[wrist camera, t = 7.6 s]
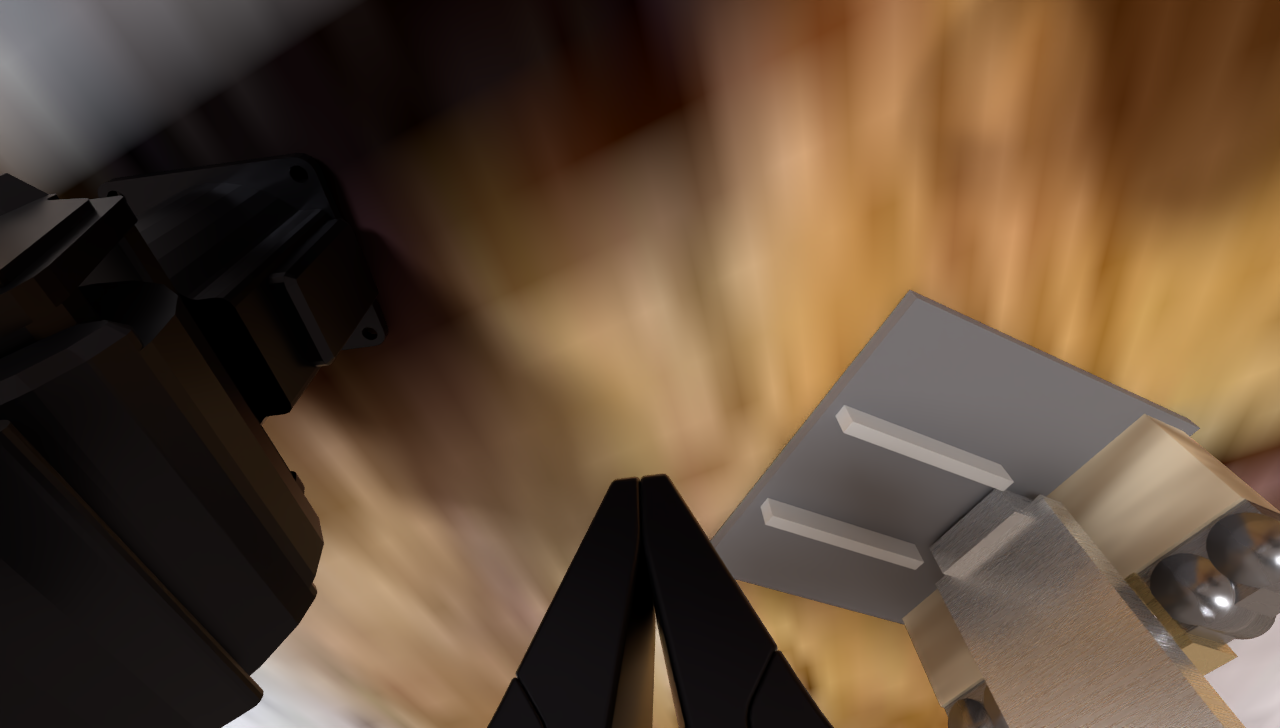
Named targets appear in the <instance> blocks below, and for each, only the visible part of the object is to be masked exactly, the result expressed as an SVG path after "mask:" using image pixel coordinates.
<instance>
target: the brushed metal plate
mask: <svg viewBox="0 0 1280 728" xmlns="http://www.w3.org/2000/svg"><path fill="white" fill-rule="evenodd" d="M929 549H930V551H931V553H932V554H933V556H934V558H935V560H936V562H937V564H938V566H939V567H940V569H941V571H942V573H943V574H945V576H944V577H943V578H941V579H940V580H939V581H938V582H937V583H936V586H937V588H938V590H939V592H940V594H941V596H942V598H943V600H944V602H945V604H946V606H947V608H948V610H949V612H950V613H951V615H952V617H953V619H954V621H955V623H956V625H957V627H958V629H959V631H960V633H961V635H962V637H963V639H964V641H965V643H966V645H967V647H968V648H969V650H970V652H971V654H972V656H973V658H974V660H975V662H976V664H977V666H978V668H979V670H980V672H981V674H982V676H983V678H984V680H985V682H986V683H987V685H988V687H989V689H990V691H991V693H992V695H993V697H994V699H995V701H996V703H997V705H998V707H999V709H1000V711H1001V713H1002V715H1003V717H1004V718H1005V720H1006V722H1007V724H1008V726H1009V728H1245V726H1244V725H1243V724H1242V723H1241V722H1240V720H1239V719H1238V718H1237V717H1236V716H1235V714H1234V713H1233V712H1232V711H1231V709H1230V708H1229V707H1228V706H1227V705H1226V703H1225V702H1224V701H1223V700H1222V698H1221V697H1220V696H1219V695H1218V694H1217V692H1216V691H1215V690H1214V689H1213V687H1212V686H1211V685H1210V684H1209V683H1208V681H1207V680H1206V679H1205V678H1204V676H1203V675H1202V674H1201V673H1200V672H1199V670H1198V669H1197V668H1196V667H1195V665H1194V664H1193V663H1192V662H1191V661H1190V659H1189V658H1188V657H1187V656H1186V654H1185V653H1184V652H1183V651H1182V650H1181V648H1180V647H1179V646H1178V645H1177V643H1176V642H1175V641H1174V640H1173V637H1172V635H1171V634H1170V633H1169V632H1168V631H1167V629H1166V628H1165V627H1164V626H1163V624H1162V623H1161V622H1160V621H1159V620H1158V619H1157V618H1155V617H1154V615H1153V614H1152V613H1151V612H1150V610H1149V609H1148V608H1147V607H1146V606H1145V604H1144V603H1143V602H1142V601H1141V599H1140V598H1139V597H1138V596H1137V595H1136V593H1135V592H1134V591H1133V590H1132V588H1131V587H1130V586H1129V585H1128V584H1127V582H1126V581H1125V580H1124V579H1123V577H1122V576H1121V575H1120V574H1119V573H1118V571H1117V570H1116V569H1115V568H1114V566H1113V565H1112V564H1111V563H1110V562H1109V560H1108V559H1107V558H1106V557H1105V556H1104V554H1103V553H1102V552H1101V551H1100V549H1099V548H1098V547H1097V546H1096V545H1095V543H1094V542H1093V541H1092V540H1091V538H1090V537H1089V536H1088V535H1087V534H1086V532H1085V531H1084V530H1083V529H1082V527H1081V526H1080V525H1079V524H1078V523H1077V521H1076V520H1075V519H1074V518H1073V516H1072V515H1071V514H1070V513H1069V512H1068V510H1067V509H1066V508H1065V507H1064V505H1063V504H1062V503H1061V502H1059V501H1056V500H1054V499H1051V498H1048V497H1046V496H1043V495H1039V496H1037V497H1036V498H1035V499H1034V500H1032V499H1030V498H1027V497H1024V496H1021V495H1019V494H1016V493H1013V492H1010V491H1008V490H1004V491H1001V490H998V489H996V488H995V489H994V490H993V491H992V492H991V493H990V494H988V495H987V496H986V497H985V498H984V499H983V500H982V501H981V502H980V503H978V504H977V505H976V506H975V507H974V508H973V509H972V510H971V511H970V512H969V513H967V514H966V515H965V516H964V517H963V518H962V519H961V520H960V521H959V522H958V523H956V524H955V525H954V526H953V527H952V528H951V529H950V530H949V531H948V532H946V533H945V534H944V535H943V536H942V537H941V538H940V539H939V540H938V541H937V542H935V543H934V544H933V545H932V546H931V547H930V548H929Z"/></svg>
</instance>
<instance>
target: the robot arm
mask: <svg viewBox="0 0 1280 728" xmlns="http://www.w3.org/2000/svg"><path fill="white" fill-rule="evenodd" d="M295 166H301V167H302V168H304V169H305V170H306V172H307V173H308V179H305V178H302V177H301V176H299V175H298V173H297V172H296V168H295ZM116 191H118V192H119V193H121V194H123V196H124V197H125V198H126V200H127V202H126V200H125V199H124V197H123V196H118V195H117V192H116ZM98 196H99V198H98V199H91V200H89V199H86V198H81V199H64V200H60V199H59V198H58V197H57V195H56V194H50V195H49V194H47V193H45V192H43V191H41V190H39V189H37V188H35V187H33V186H31V185H29V184H27V183H25V182H23V181H21V180H19V179H17V178H16V177H14V176H12V175H10V174H8V173H4V174H0V728H221V727H223V726H224V725H226V724H228V723H229V722H231V721H233V720H234V719H236V718H237V717H239V716H241V715H242V714H244V713H246V712H247V711H249V710H250V709H252V708H253V707H255V706H256V705H257V704H258V703H259V702H260V701H261V699H262V697H263V690H262V689H261V688H260V686H259V685H258V684H257V683H256V682H255V681H254V680H253V679H252V678H251V677H250V675H251V674H252V673H254V672H255V671H256V670H257V669H258V668H260V667H261V665H262V664H263V663H264V662H265V661H266V660H267V659H268V658H269V657H270V655H271V654H272V653H273V652H274V651H275V650H276V649H277V648H278V647H279V646H280V644H281V643H282V642H283V641H284V640H285V639H286V638H287V637H288V636H289V634H290V633H291V632H292V631H293V630H294V629H295V628H296V627H297V626H298V624H299V623H300V621H301V620H302V618H303V617H304V615H305V613H306V612H307V610H308V609H309V607H310V606H311V604H312V602H313V601H314V599H315V598H316V594H317V589H316V586H315V585H314V584H313V580H314V578H315V576H316V572H317V568H318V564H319V560H320V556H321V553H322V549H323V545H324V541H323V536H322V531H321V526H320V521H319V517H318V516H317V514H316V513H315V511H314V509H313V508H312V506H311V505H310V503H309V502H308V500H307V498H306V497H305V495H304V489H305V487H304V485H303V483H302V482H301V480H300V478H299V477H298V475H297V474H296V472H294V471H290V470H289V468H288V467H287V465H286V463H285V462H284V460H283V459H282V457H281V456H280V454H279V452H278V451H277V449H276V448H275V446H274V444H273V443H272V441H271V440H270V438H269V437H268V435H267V433H266V432H265V430H264V429H263V427H262V424H263V423H264V421H265V420H266V419H267V417H268V416H273V415H281V414H286V413H289V412H290V411H291V409H292V408H293V406H294V405H295V404H296V402H297V401H298V399H299V398H300V396H301V395H302V394H303V392H304V391H305V389H306V388H307V386H308V385H309V383H310V382H311V381H312V379H313V378H314V376H315V375H316V373H317V372H318V371H319V369H320V368H321V366H327V365H330V364H332V363H333V361H334V360H335V358H336V357H337V355H338V354H339V352H340V351H341V350H346V349H354V348H362V347H370V346H376V345H379V344H381V343H382V342H383V341H384V339H385V338H386V336H387V334H388V326H387V323H386V321H385V319H384V316H383V314H382V312H381V309H380V307H379V304H378V302H377V300H376V297H377V295H378V289H377V287H376V285H375V282H374V280H373V277H372V275H371V273H370V270H369V268H368V265H367V263H366V261H365V258H364V256H363V253H362V251H361V248H360V246H359V244H358V241H357V239H356V236H355V234H354V232H353V229H352V227H351V225H350V224H349V223H347V222H346V221H345V220H344V219H342V217H341V214H340V212H339V209H338V207H337V205H336V202H335V200H334V198H333V195H332V193H331V190H330V188H329V186H328V183H327V181H326V179H325V176H324V174H323V171H322V169H321V167H320V166H319V164H318V162H317V161H316V160H314V159H313V158H312V157H311V156H308V155H306V154H302V153H295V154H288V155H280V156H273V157H266V158H258V159H251V160H244V161H237V162H229V163H222V164H215V165H208V166H200V167H193V168H186V169H178V170H171V171H164V172H157V173H149V174H142V175H135V176H128V177H120V178H115V179H112V180H110V181H108V182H106V183H103V184H101V185H100V187H99V188H98ZM366 327H369V328H373V329H374V330H375V331H376V332H377V334H372V333H370V332H369V331H368V330H367V329H366ZM655 613H656V619H657V624H658V630H659V635H660V640H661V645H662V650H663V654H664V659H665V664H666V669H667V673H668V678H669V683H670V687H671V692H672V697H673V702H674V706H675V711H676V716H677V720H678V725H679V728H834V727H833V726H832V725H831V723H830V722H829V721H828V720H827V718H826V717H825V716H824V714H823V713H822V712H821V710H820V709H819V707H818V706H817V705H816V703H815V702H814V700H813V699H812V697H811V696H810V694H809V693H808V691H807V690H806V688H805V687H804V686H803V684H802V683H801V681H800V680H799V678H798V677H797V675H796V674H795V672H794V671H793V669H792V668H791V666H790V664H789V663H788V661H787V660H786V658H785V657H784V655H783V654H782V652H781V651H779V650H778V651H777V645H776V643H775V642H774V640H773V638H772V637H771V635H770V634H769V632H768V631H767V629H766V628H765V626H764V624H763V623H762V621H761V620H760V618H759V617H758V615H757V614H756V612H755V610H754V609H753V607H752V606H751V604H750V603H749V601H748V599H747V598H746V596H745V595H744V593H743V592H742V590H741V589H740V587H739V585H738V584H737V582H736V581H735V579H734V578H733V576H732V574H731V573H730V571H729V570H728V568H727V567H726V565H725V564H724V562H723V560H722V559H721V557H720V556H719V554H718V553H717V551H716V550H715V548H714V546H713V545H712V543H711V542H710V540H709V539H708V537H707V535H706V534H705V532H704V531H703V529H702V528H701V526H700V525H699V523H698V521H697V520H696V518H695V517H694V515H693V514H692V512H691V510H690V509H689V507H688V506H687V504H686V503H685V501H684V500H683V498H682V496H681V495H680V493H679V492H678V490H677V489H676V487H675V486H674V484H673V482H672V481H671V479H670V478H669V477H668V476H667V475H666V474H656V475H647V476H643V477H642V478H641V482H640V479H639V478H637V477H629V478H621V479H615V480H614V481H613V482H612V483H611V485H610V487H609V489H608V491H607V493H606V495H605V497H604V499H603V501H602V503H601V505H600V507H599V509H598V510H597V512H596V514H595V516H594V518H593V520H592V522H591V524H590V526H589V528H588V530H587V532H586V534H585V536H584V538H583V540H582V542H581V544H580V546H579V548H578V550H577V552H576V554H575V556H574V558H573V560H572V562H571V564H570V566H569V568H568V570H567V572H566V574H565V576H564V578H563V580H562V582H561V584H560V586H559V588H558V590H557V592H556V594H555V596H554V598H553V600H552V602H551V604H550V606H549V608H548V610H547V612H546V614H545V616H544V618H543V620H542V622H541V624H540V626H539V628H538V630H537V632H536V634H535V635H534V637H533V639H532V641H531V643H530V645H529V647H528V649H527V651H526V653H525V655H524V657H523V659H522V661H521V663H520V665H519V667H518V669H517V671H516V676H517V678H513V679H512V681H511V683H510V685H509V687H508V689H507V691H506V693H505V695H504V696H503V698H502V700H501V702H500V704H499V706H498V708H497V710H496V712H495V714H494V716H493V718H492V719H491V721H490V723H489V725H488V727H487V728H652V720H653V689H654V658H655Z"/></svg>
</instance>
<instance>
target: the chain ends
mask: <svg viewBox="0 0 1280 728" xmlns="http://www.w3.org/2000/svg"><path fill="white" fill-rule="evenodd" d="M1124 580H1125V581H1126V582H1127V584H1128V585H1129V586H1130V587H1131V588H1132V590H1133V591H1134V592H1135V593H1136V595H1137V596H1138V597H1139V598H1140V599H1141V601H1142V602H1143V603H1144V604H1145V606H1146V607H1147V608H1148V609H1149V610H1150V612H1151V613H1152V614H1153V615H1155V616H1156V617H1157V618H1158V620H1159V621H1160V622H1161V623H1162V624H1163V626H1164V627H1165V628H1166V629H1167V631H1168V632H1169V633H1170V634H1171V635H1172V637H1173V640H1174V641H1175V642H1176V643H1177V645H1178V646H1179V647H1180V648H1181V650H1182V651H1183V652H1184V653H1185V654H1186V656H1187V657H1188V658H1189V659H1190V661H1191V662H1192V663H1193V664H1194V665H1195V667H1196V668H1197V669H1198V670H1199V672H1200V673H1201V674H1202V675H1203V676H1204V675H1206V674H1207V673H1209V672H1211V671H1213V670H1215V669H1216V668H1218V667H1220V666H1222V665H1224V664H1225V663H1227V662H1229V661H1231V660H1233V659H1234V658H1236V657H1238V656H1237V655H1236V654H1235V653H1234V652H1233V651H1232V650H1231V649H1230V647H1229V646H1228V645H1227V644H1226V643H1228V642H1230V641H1232V640H1233V639H1252V638H1255V637H1258V636H1260V635H1262V634H1264V633H1265V632H1267V631H1268V630H1269V629H1270V628H1271V626H1272V625H1273V623H1274V621H1275V618H1276V615H1277V614H1279V613H1280V514H1279V513H1277V512H1275V511H1272V510H1270V509H1268V508H1265V507H1263V506H1261V505H1258V504H1256V503H1253V502H1251V501H1249V500H1246V499H1244V500H1243V501H1241V502H1240V503H1238V504H1237V505H1236V506H1234V507H1233V508H1231V509H1230V510H1228V511H1227V512H1225V513H1224V514H1223V515H1221V516H1220V517H1218V518H1217V519H1215V520H1214V521H1212V522H1211V523H1210V524H1208V525H1207V526H1205V527H1204V528H1202V529H1201V530H1199V531H1198V532H1197V533H1195V534H1194V535H1192V536H1191V537H1189V538H1188V539H1186V540H1185V541H1184V542H1182V543H1181V544H1179V545H1178V546H1176V547H1175V548H1173V549H1172V550H1171V551H1169V552H1168V553H1166V554H1165V555H1163V556H1162V557H1160V558H1159V559H1158V560H1156V561H1155V562H1153V563H1152V564H1150V565H1149V566H1147V567H1146V568H1145V569H1143V570H1142V571H1140V572H1139V573H1134V572H1133V573H1132V574H1131V575H1129V576H1128V577H1126V578H1125V579H1124ZM944 709H945V711H946V713H947V716H948V728H1009V726H1008V724H1007V722H1006V720H1005V718H1004V717H1003V715H1002V713H1001V711H1000V709H999V707H998V705H997V703H996V701H995V699H994V697H993V695H992V693H991V691H990V689H989V687H988V685H987V683H986V682H985V680H983V681H981V682H980V683H979V684H977V685H976V686H974V687H973V688H971V689H970V690H968V691H967V692H966V693H964V694H963V695H961V696H960V697H958V698H957V699H956V700H954V701H953V702H951V703H950V704H948V705H947V706H945V707H944Z"/></svg>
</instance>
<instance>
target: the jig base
mask: <svg viewBox="0 0 1280 728" xmlns="http://www.w3.org/2000/svg"><path fill="white" fill-rule="evenodd" d="M1143 414H1146V415H1149V416H1151V417H1153V418H1155V419H1157V420H1160V421H1162V422H1164V423H1166V424H1168V425H1171V426H1173V427H1175V428H1177V429H1180V430H1182V431H1184V432H1185V433H1186V434H1187V435H1189V436H1191V435H1192V434H1193V433H1195V432H1196V431H1197V430H1199V429H1200V428H1199V427H1198V426H1197V425H1196V424H1194V423H1193V422H1192V421H1191V420H1189V419H1188V418H1186V417H1183V416H1181V415H1179V414H1177V413H1175V412H1173V411H1170V410H1168V409H1166V408H1164V407H1162V406H1160V405H1158V404H1155V403H1153V402H1151V401H1149V400H1147V399H1145V398H1142V397H1140V396H1138V395H1136V394H1134V393H1132V392H1129V391H1127V390H1125V389H1123V388H1121V387H1119V386H1117V385H1114V384H1112V383H1110V382H1108V381H1106V380H1104V379H1101V378H1099V377H1097V376H1095V375H1093V374H1091V373H1088V372H1086V371H1084V370H1082V369H1080V368H1078V367H1075V366H1073V365H1071V364H1069V363H1067V362H1065V361H1063V360H1060V359H1058V358H1056V357H1054V356H1052V355H1050V354H1047V353H1045V352H1043V351H1041V350H1039V349H1037V348H1034V347H1032V346H1030V345H1028V344H1026V343H1024V342H1022V341H1019V340H1017V339H1015V338H1013V337H1011V336H1009V335H1006V334H1004V333H1002V332H1000V331H998V330H996V329H993V328H991V327H989V326H987V325H985V324H983V323H980V322H978V321H976V320H974V319H972V318H970V317H968V316H965V315H963V314H961V313H959V312H957V311H955V310H952V309H950V308H948V307H946V306H944V305H942V304H939V303H937V302H935V301H933V300H931V299H929V298H927V297H924V296H922V295H920V294H918V293H916V292H914V291H911V290H909V292H908V293H907V294H906V295H905V297H904V298H903V299H902V300H901V302H900V303H899V304H898V305H897V307H896V308H895V309H894V310H893V312H892V313H891V314H890V315H889V317H888V318H887V319H886V321H885V322H884V323H883V324H882V326H881V327H880V328H879V329H878V331H877V332H876V333H875V334H874V336H873V337H872V338H871V339H870V341H869V342H868V343H867V344H866V346H865V347H864V348H863V349H862V351H861V352H860V353H859V355H858V356H857V357H856V358H855V360H854V361H853V362H852V363H851V365H850V366H849V367H848V368H847V370H846V371H845V372H844V373H843V375H842V376H841V377H840V378H839V380H838V381H837V382H836V383H835V385H834V386H833V387H832V389H831V390H830V391H829V392H828V394H827V395H826V396H825V397H824V399H823V400H822V401H821V402H820V404H819V405H818V406H817V407H816V409H815V410H814V411H813V412H812V414H811V415H810V416H809V417H808V419H807V420H806V421H805V423H804V424H803V425H802V426H801V428H800V429H799V430H798V431H797V433H796V434H795V435H794V436H793V438H792V439H791V440H790V441H789V443H788V444H787V445H786V446H785V448H784V449H783V450H782V451H781V453H780V454H779V455H778V457H777V458H776V459H775V460H774V462H773V463H772V464H771V465H770V467H769V468H768V469H767V470H766V472H765V473H764V474H763V475H762V477H761V478H760V479H759V480H758V482H757V483H756V484H755V485H754V487H753V488H752V489H751V491H750V492H749V493H748V494H747V496H746V497H745V498H744V499H743V501H742V502H741V503H740V504H739V506H738V507H737V508H736V509H735V511H734V512H733V513H732V514H731V516H730V517H729V518H728V519H727V521H726V522H725V523H724V525H723V526H722V527H721V528H720V530H719V531H718V532H717V533H716V535H715V536H714V537H713V538H712V540H711V541H710V542H711V543H712V545H713V546H714V548H715V550H716V551H717V553H718V554H719V556H720V557H721V559H722V560H723V562H724V564H725V565H726V567H727V568H728V570H729V571H730V573H731V574H732V576H733V578H734V579H736V580H740V581H744V582H747V583H751V584H755V585H759V586H762V587H766V588H770V589H774V590H777V591H781V592H785V593H788V594H792V595H796V596H800V597H803V598H807V599H811V600H815V601H818V602H822V603H826V604H829V605H833V606H837V607H841V608H844V609H848V610H852V611H856V612H859V613H863V614H867V615H870V616H874V617H878V618H882V619H885V620H889V621H893V622H897V623H900V624H904V622H903V620H902V618H903V617H905V616H906V615H907V614H908V613H909V612H910V611H912V610H913V609H914V608H915V607H916V606H918V605H919V604H920V603H921V602H922V601H923V600H925V599H926V598H927V597H928V596H929V595H931V594H932V593H933V592H934V591H935V590H936V589H938V588H937V586H936V583H937V582H938V581H939V580H940V579H941V578H943V577H944V576H945V574H943V573H942V571H941V569H940V567H939V566H938V564H937V562H936V560H935V558H934V556H933V554H932V553H931V551H930V549H929V548H930V547H931V546H932V545H933V544H934V543H935V542H937V541H938V540H939V539H940V538H941V537H942V536H943V535H944V534H945V533H946V532H948V531H949V530H950V529H951V528H952V527H953V526H954V525H955V524H956V523H958V522H959V521H960V520H961V519H962V518H963V517H964V516H965V515H966V514H967V513H969V512H970V511H971V510H972V509H973V508H974V507H975V506H976V505H977V504H978V503H980V502H981V501H982V500H983V499H984V498H985V497H986V496H987V495H988V494H990V493H991V492H992V491H993V490H994V489H995V488H996V489H998V490H1001V491H1004V490H1008V491H1010V492H1013V493H1016V494H1019V495H1021V496H1024V497H1027V498H1030V499H1032V500H1034V499H1035V498H1036V497H1037V496H1039V495H1043V496H1048V495H1049V494H1050V493H1051V492H1052V491H1054V490H1055V489H1056V488H1057V487H1058V486H1059V485H1061V484H1062V483H1063V482H1064V481H1065V480H1067V479H1068V478H1069V477H1070V476H1071V475H1072V474H1074V473H1075V472H1076V471H1077V470H1078V469H1080V468H1081V467H1082V466H1083V465H1084V464H1085V463H1087V462H1088V461H1089V460H1090V459H1091V458H1093V457H1094V456H1095V455H1096V454H1097V453H1099V452H1100V451H1101V450H1102V449H1103V448H1104V447H1106V446H1107V445H1108V444H1109V443H1110V442H1112V441H1113V440H1114V439H1115V438H1116V437H1117V436H1119V435H1120V434H1121V433H1122V432H1123V431H1125V430H1126V429H1127V428H1128V427H1129V426H1130V425H1132V424H1133V423H1134V422H1135V421H1136V420H1138V419H1139V418H1140V417H1141V416H1142V415H1143ZM904 625H905V624H904Z"/></svg>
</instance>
